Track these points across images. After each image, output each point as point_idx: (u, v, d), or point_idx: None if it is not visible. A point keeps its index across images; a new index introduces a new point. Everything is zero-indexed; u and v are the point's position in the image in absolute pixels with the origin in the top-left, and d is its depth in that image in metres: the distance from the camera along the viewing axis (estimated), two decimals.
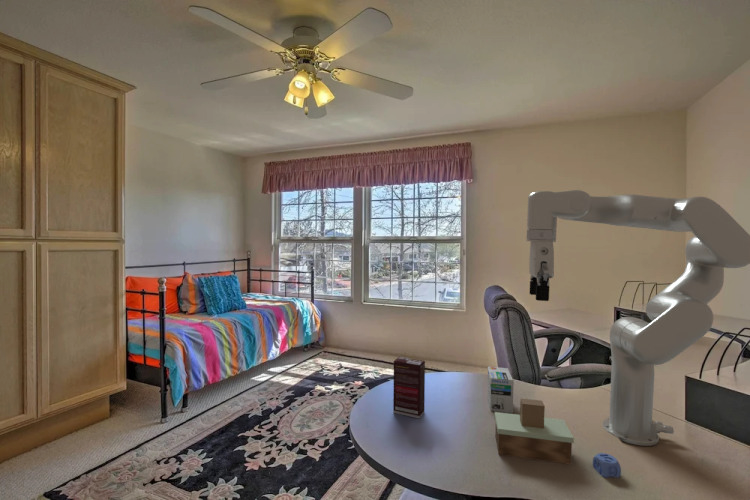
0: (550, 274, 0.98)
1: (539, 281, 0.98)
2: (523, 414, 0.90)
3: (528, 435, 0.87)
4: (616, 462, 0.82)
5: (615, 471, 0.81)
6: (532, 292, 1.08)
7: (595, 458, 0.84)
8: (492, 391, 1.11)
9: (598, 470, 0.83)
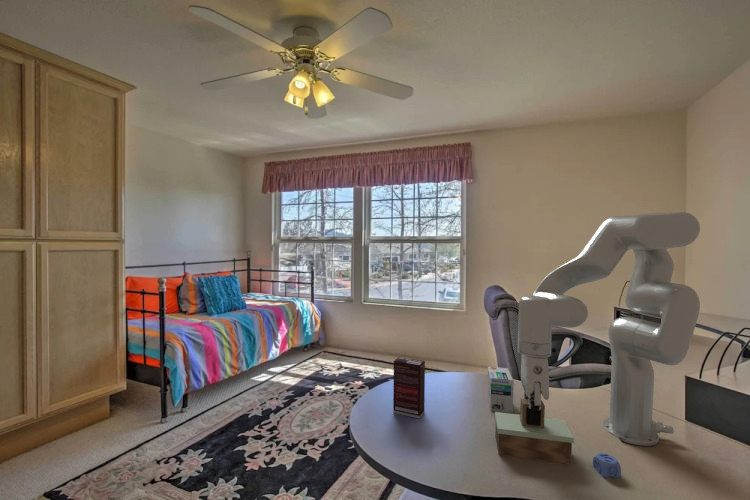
0: (545, 396, 0.85)
1: (530, 404, 0.88)
2: (523, 414, 0.90)
3: (528, 435, 0.87)
4: (616, 462, 0.82)
5: (615, 471, 0.81)
6: None
7: (595, 458, 0.84)
8: (492, 391, 1.11)
9: (598, 470, 0.83)
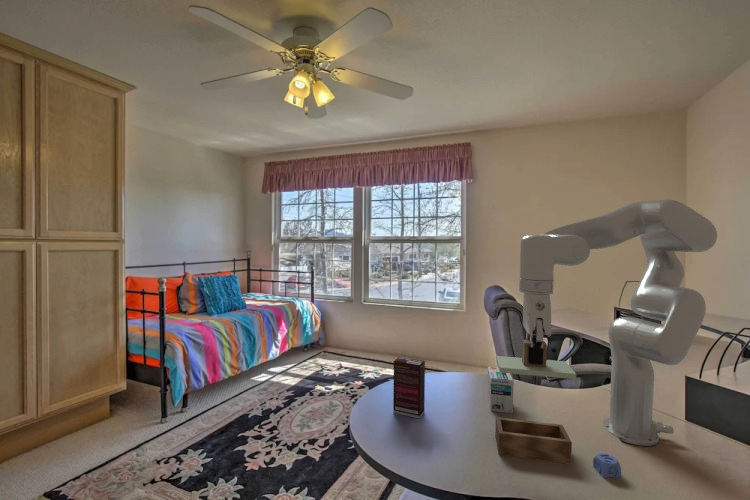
0: (547, 333, 0.85)
1: (532, 343, 0.88)
2: (525, 353, 0.89)
3: (530, 373, 0.87)
4: (616, 462, 0.82)
5: (615, 471, 0.81)
6: None
7: (595, 458, 0.84)
8: (492, 391, 1.11)
9: (598, 470, 0.83)
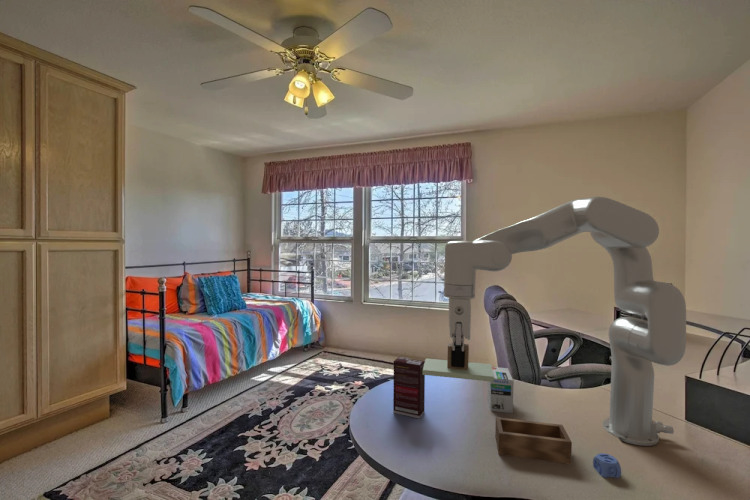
0: (466, 336, 0.87)
1: (453, 346, 0.90)
2: (448, 356, 0.91)
3: (451, 375, 0.89)
4: (616, 462, 0.82)
5: (615, 471, 0.81)
6: None
7: (595, 458, 0.84)
8: (492, 391, 1.11)
9: (598, 470, 0.83)
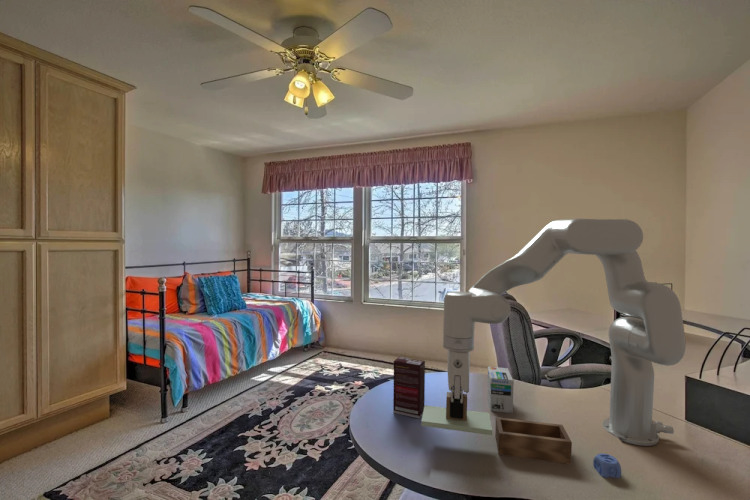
0: (464, 390, 0.87)
1: (452, 398, 0.90)
2: (447, 407, 0.92)
3: (449, 427, 0.89)
4: (616, 463, 0.81)
5: (615, 472, 0.81)
6: None
7: (595, 458, 0.84)
8: (492, 391, 1.11)
9: (598, 470, 0.83)
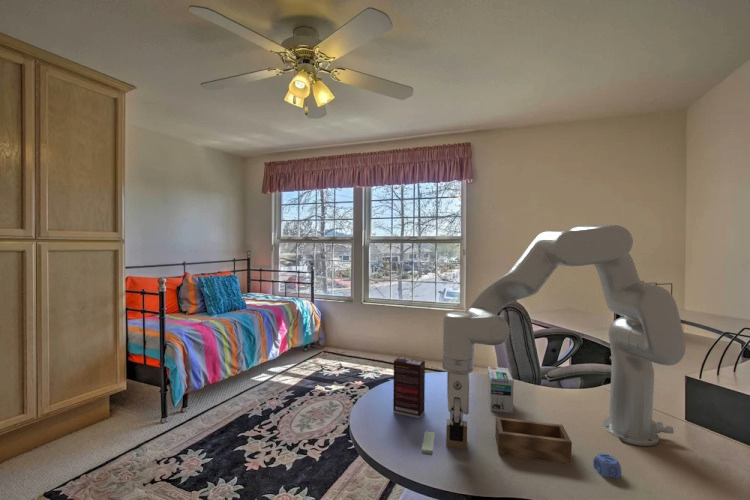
0: (464, 412, 0.88)
1: (452, 420, 0.88)
2: (447, 435, 0.92)
3: None
4: (616, 463, 0.81)
5: (615, 472, 0.81)
6: None
7: (595, 458, 0.84)
8: (492, 391, 1.11)
9: (598, 470, 0.83)
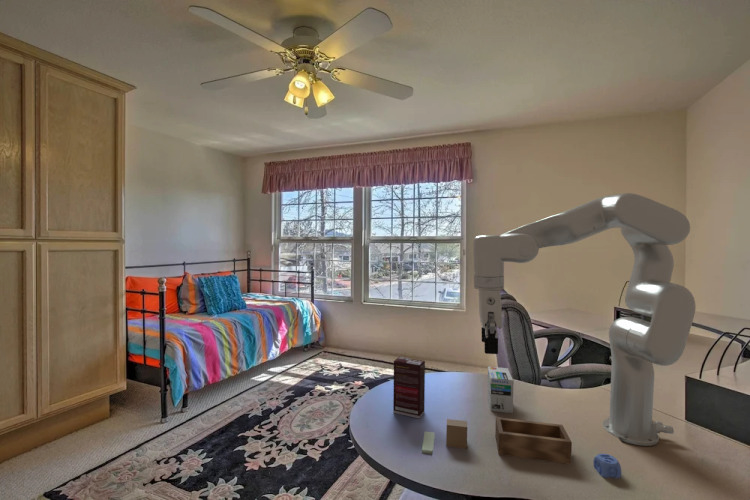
0: (498, 325, 0.92)
1: (487, 333, 0.91)
2: (447, 435, 0.92)
3: None
4: (616, 463, 0.81)
5: (615, 472, 0.81)
6: (484, 339, 1.02)
7: (595, 458, 0.84)
8: (492, 391, 1.11)
9: (598, 470, 0.83)
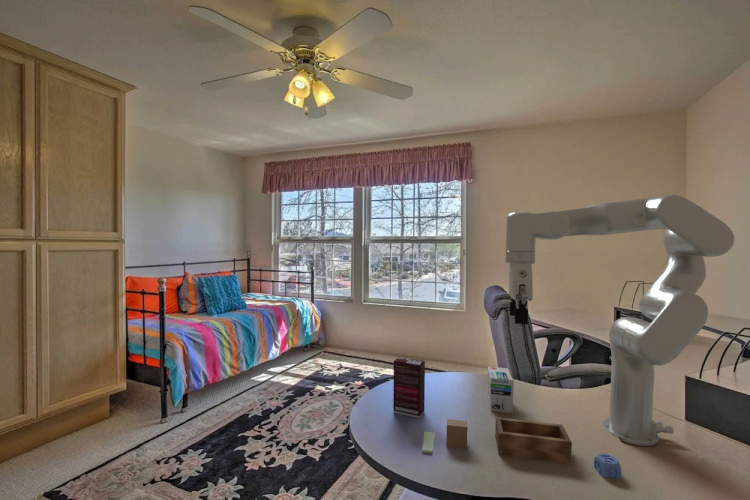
0: (529, 297, 0.97)
1: (518, 304, 0.97)
2: (447, 435, 0.92)
3: None
4: (616, 463, 0.81)
5: (615, 472, 0.81)
6: (512, 313, 1.07)
7: (596, 458, 0.84)
8: (492, 391, 1.11)
9: (598, 470, 0.83)
